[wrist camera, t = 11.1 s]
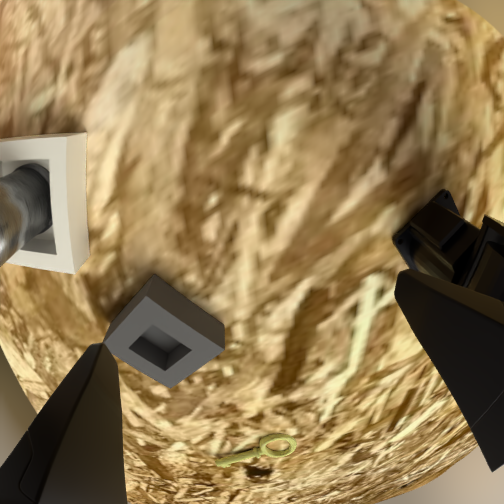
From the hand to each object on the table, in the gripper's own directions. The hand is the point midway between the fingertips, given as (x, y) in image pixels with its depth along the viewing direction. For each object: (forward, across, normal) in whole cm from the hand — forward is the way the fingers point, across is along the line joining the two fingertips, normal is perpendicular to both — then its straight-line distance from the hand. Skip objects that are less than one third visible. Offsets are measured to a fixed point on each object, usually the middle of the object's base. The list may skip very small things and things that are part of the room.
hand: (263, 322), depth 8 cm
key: (+11, +1, +36) cm, 37 cm away
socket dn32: (+12, +6, +10) cm, 17 cm away
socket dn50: (+14, +13, -3) cm, 19 cm away
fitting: (+13, +13, -3) cm, 19 cm away
